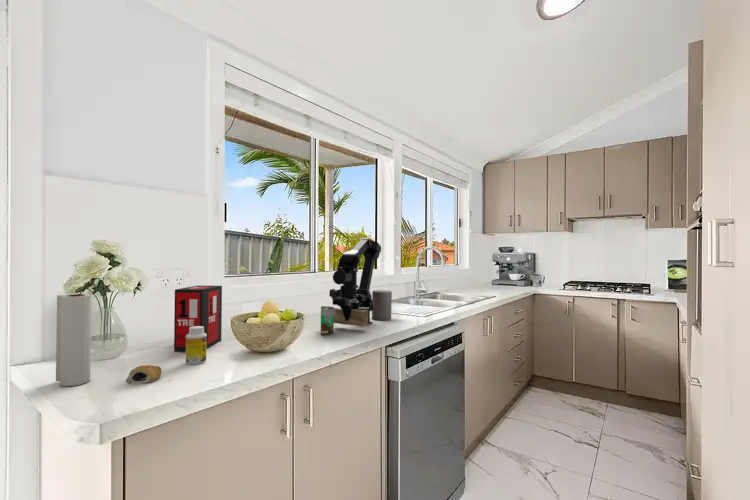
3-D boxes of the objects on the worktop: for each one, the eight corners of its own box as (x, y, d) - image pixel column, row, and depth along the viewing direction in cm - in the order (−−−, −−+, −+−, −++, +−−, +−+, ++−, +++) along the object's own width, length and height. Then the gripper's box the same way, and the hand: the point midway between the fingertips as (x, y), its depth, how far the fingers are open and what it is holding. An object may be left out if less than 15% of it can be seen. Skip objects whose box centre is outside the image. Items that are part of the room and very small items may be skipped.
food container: (336, 335, 155) (336, 310, 155) (320, 336, 154) (320, 310, 154) (335, 329, 167) (335, 305, 167) (320, 330, 166) (321, 306, 166)
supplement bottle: (204, 364, 114) (205, 328, 114) (183, 365, 112) (184, 329, 113) (207, 359, 119) (208, 325, 119) (187, 360, 118) (188, 325, 118)
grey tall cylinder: (93, 382, 97) (94, 294, 97) (62, 389, 93) (63, 296, 93) (85, 376, 102) (86, 292, 102) (55, 382, 97) (57, 294, 98)
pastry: (141, 374, 105) (141, 359, 105) (168, 373, 106) (168, 359, 106) (123, 386, 96) (124, 370, 96) (153, 385, 97) (154, 369, 97)
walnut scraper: (337, 321, 174) (337, 307, 174) (368, 325, 166) (368, 310, 166) (331, 322, 171) (331, 308, 171) (362, 326, 162) (362, 311, 162)
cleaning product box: (196, 340, 144) (197, 285, 145) (221, 340, 144) (221, 285, 145) (174, 352, 128) (174, 289, 128) (201, 352, 128) (202, 289, 128)
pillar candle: (367, 318, 195) (368, 288, 195) (380, 316, 203) (380, 287, 203) (383, 321, 189) (383, 289, 189) (395, 318, 197) (396, 288, 197)
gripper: (344, 281, 180) (343, 315, 180) (321, 283, 163) (321, 321, 163) (366, 281, 175) (365, 317, 175) (345, 284, 159) (345, 324, 158)
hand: (349, 320), depth 168 cm, fingers closed on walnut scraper, 4 cm apart
